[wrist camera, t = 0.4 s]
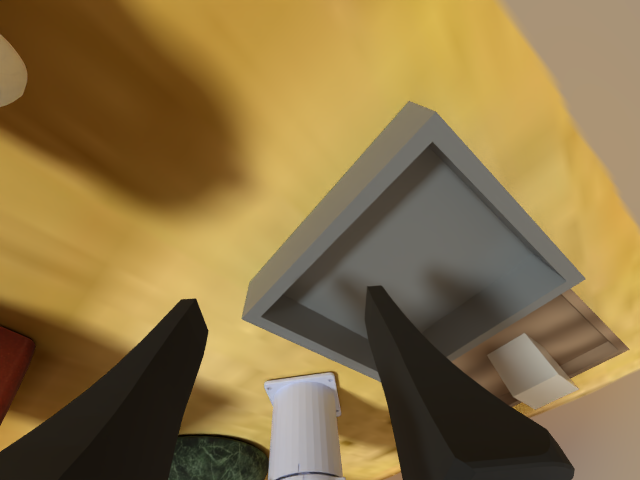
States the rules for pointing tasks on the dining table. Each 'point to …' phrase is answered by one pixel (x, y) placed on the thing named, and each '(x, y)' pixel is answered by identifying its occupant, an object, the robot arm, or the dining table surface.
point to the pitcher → (11, 73)
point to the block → (531, 372)
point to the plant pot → (12, 365)
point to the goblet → (217, 460)
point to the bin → (409, 251)
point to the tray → (548, 342)
